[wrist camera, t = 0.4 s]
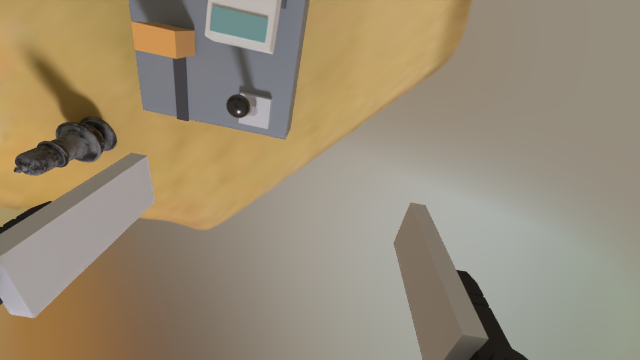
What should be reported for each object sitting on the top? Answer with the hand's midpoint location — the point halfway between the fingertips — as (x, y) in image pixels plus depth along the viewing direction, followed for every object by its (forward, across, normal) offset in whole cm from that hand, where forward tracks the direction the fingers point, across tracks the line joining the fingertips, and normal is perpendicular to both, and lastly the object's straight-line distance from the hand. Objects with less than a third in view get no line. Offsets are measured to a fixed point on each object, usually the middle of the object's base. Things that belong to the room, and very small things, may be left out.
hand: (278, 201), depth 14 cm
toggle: (+20, -7, -2) cm, 21 cm away
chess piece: (+25, -31, -12) cm, 42 cm away
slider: (+21, -16, +4) cm, 26 cm away
